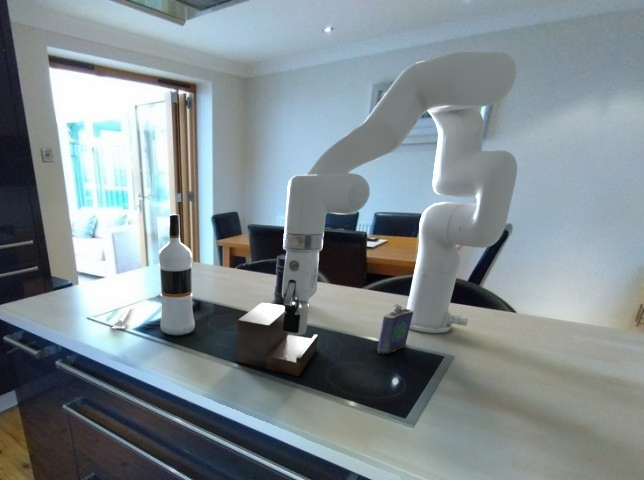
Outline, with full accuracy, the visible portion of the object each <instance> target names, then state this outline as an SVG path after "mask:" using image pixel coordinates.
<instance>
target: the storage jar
mask: <svg viewBox="0 0 644 480" xmlns="http://www.w3.org/2000/svg"><path fill="white" fill-rule="evenodd" d="M285 260H286V253H285V254H284V253H283V254H278V255H277V256H276V265H275V275H276V278H275V281H276V282H275V286H274V293H273V295H274V300H273V304H276V305H282V306H284V301H285V299H284V298H283V297H282V284H283V274H284V266H285ZM293 299H295V296H294V297H293Z"/></svg>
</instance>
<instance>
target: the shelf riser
mask: <svg viewBox="0 0 644 480" xmlns="http://www.w3.org/2000/svg"><path fill="white" fill-rule="evenodd" d="M284 309H285V306H282V305H276V304H274V303H268V302H261V303H259V304H258V305H256V306H255V307H253V309H251V310H249V311H248V312H247V313H245V314H244V315H243V316H241V317H240V318H239V319H237V336H236V340H237V341H236V363H240V364H245V365H249V366H252V367H257V368H262V369H264V370H265V369H266V370H269V371H275V372H278V373H282V374H286V375H291V376H295V377H299V376H300V375H301V374H302V372H303V371H304V370H305V368H306V366H307V365H308V364H309V362H310V361H311V359H312V358H313V356H314V355H315V354H316V353H317V347H318V340H319V339H318V338H319V335H318V334H313V336H312V337H311V338H310V337H304V336H300V335H291V334H287V333H285V332H284V331H283V321H284Z"/></svg>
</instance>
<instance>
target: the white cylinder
mask: <svg viewBox="0 0 644 480" xmlns="http://www.w3.org/2000/svg"><path fill="white" fill-rule="evenodd" d="M293 304H294V305H295V307H296V303H295V302H293ZM284 310H285V309H284ZM309 312H310V304H309V303H308V304H307V303H305V302H301V304H300V309H299V314H300V323H299V332H298V333H293V332H287V331H284V330H283V331H284V332H285V333H287V334H289V335H294V336H301V335H305V334H306V333H307V330H308V322H309V321H308V320H309ZM283 324H284V321H283Z"/></svg>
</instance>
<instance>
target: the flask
mask: <svg viewBox="0 0 644 480" xmlns="http://www.w3.org/2000/svg"><path fill="white" fill-rule="evenodd" d="M392 307H393V308H394V307H395V308H394V309H393V311H391V312H389V313H386V314H384V315H383V318H382V324H381V328H380V329H381V331H380V334H379V340H378V344H377V349H376V350H377V353H378V354H382V355H385V354H386V355H387V354H390V353H392V352H396V351H397V350H400V349H403V348H406V345H407V340H408V336H409V332H410V329H409V328H410V324H411V320H412V316H413V311H412V310H409V309H407V308H404V307H403V306H401V305H400V304H397V303H396V304H394V305H393V306H392Z"/></svg>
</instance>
